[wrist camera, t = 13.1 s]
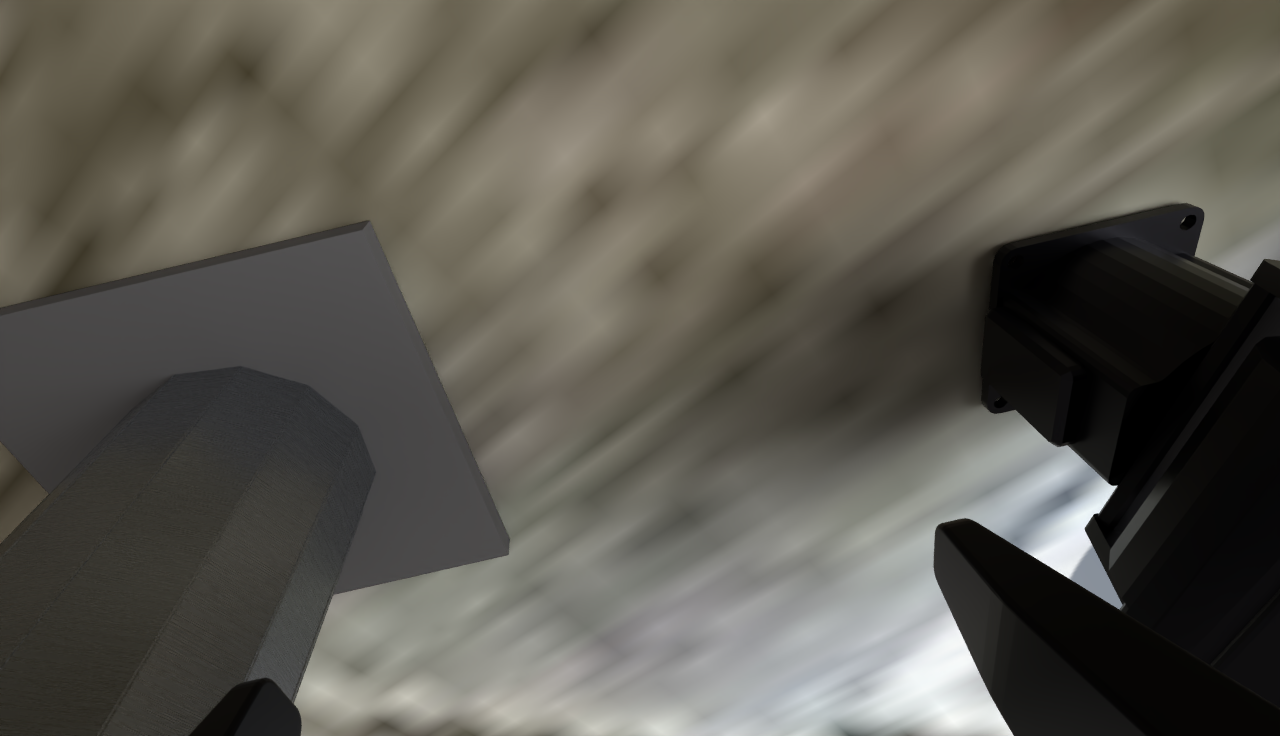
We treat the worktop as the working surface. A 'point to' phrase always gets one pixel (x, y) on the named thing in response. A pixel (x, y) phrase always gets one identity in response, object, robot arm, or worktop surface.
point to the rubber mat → (274, 344)
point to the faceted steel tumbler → (180, 559)
